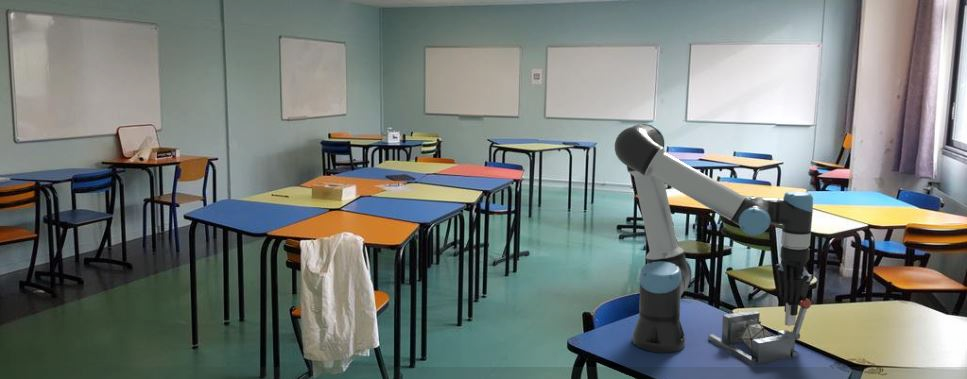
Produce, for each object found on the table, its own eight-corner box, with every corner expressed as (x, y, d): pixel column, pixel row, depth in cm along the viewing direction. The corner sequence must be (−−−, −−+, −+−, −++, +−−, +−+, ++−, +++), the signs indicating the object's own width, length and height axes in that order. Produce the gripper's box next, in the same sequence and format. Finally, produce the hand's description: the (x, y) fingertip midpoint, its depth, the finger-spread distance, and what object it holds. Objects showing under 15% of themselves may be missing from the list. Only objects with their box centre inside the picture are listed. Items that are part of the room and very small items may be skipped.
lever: (786, 336, 200) (798, 296, 195) (794, 334, 201) (807, 295, 195) (793, 342, 198) (806, 302, 192) (801, 341, 199) (814, 301, 193)
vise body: (708, 339, 207) (709, 320, 206) (756, 331, 212) (757, 313, 211) (750, 364, 189) (752, 344, 188) (802, 355, 195) (803, 335, 194)
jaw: (721, 342, 205) (722, 314, 203) (752, 337, 208) (753, 310, 206) (727, 345, 202) (729, 318, 200) (759, 340, 205) (760, 313, 204)
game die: (761, 364, 198) (778, 346, 191) (732, 352, 199) (748, 334, 192) (762, 339, 205) (779, 321, 198) (735, 328, 205) (750, 309, 198)
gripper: (823, 250, 192) (817, 330, 196) (789, 239, 204) (784, 315, 208) (801, 253, 189) (795, 334, 194) (768, 242, 201) (764, 318, 205)
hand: (790, 324), depth 201 cm, fingers closed
